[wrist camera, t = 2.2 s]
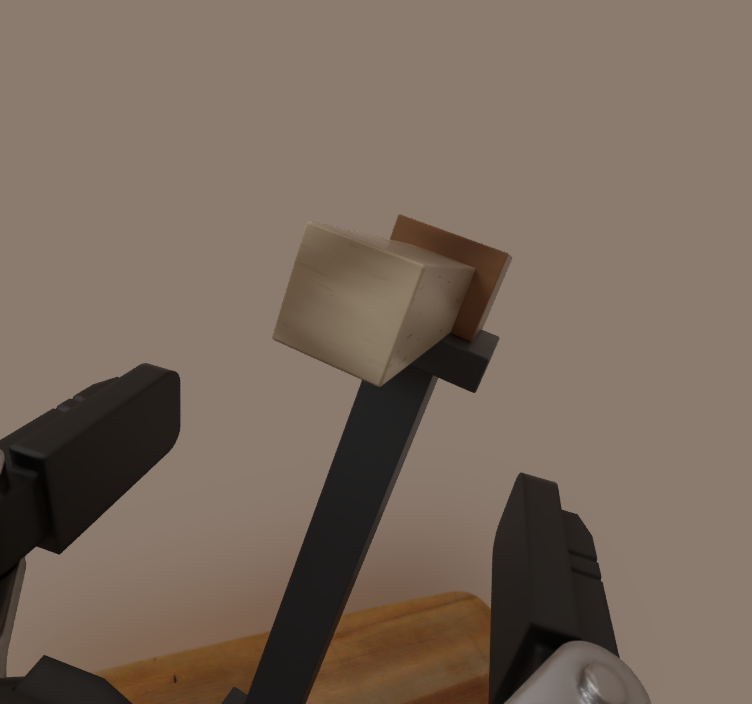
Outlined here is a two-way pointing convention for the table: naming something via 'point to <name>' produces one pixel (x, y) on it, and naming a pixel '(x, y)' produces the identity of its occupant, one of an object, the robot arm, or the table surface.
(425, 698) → the table surface
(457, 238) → the bar
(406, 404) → the stand
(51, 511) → the robot arm
